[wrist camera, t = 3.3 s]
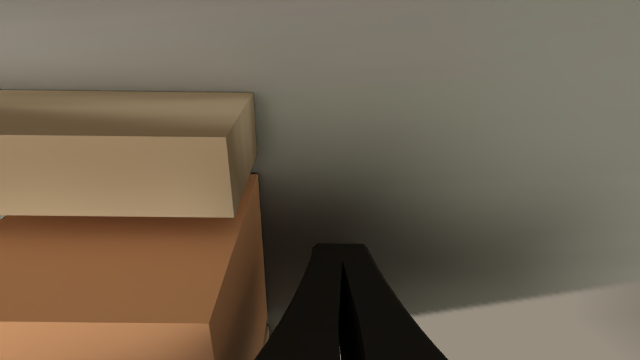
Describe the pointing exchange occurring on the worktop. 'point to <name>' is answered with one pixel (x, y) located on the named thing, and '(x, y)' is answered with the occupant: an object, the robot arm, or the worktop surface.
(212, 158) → the beige upright blocks
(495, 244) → the worktop surface
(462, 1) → the worktop surface
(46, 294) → the block
